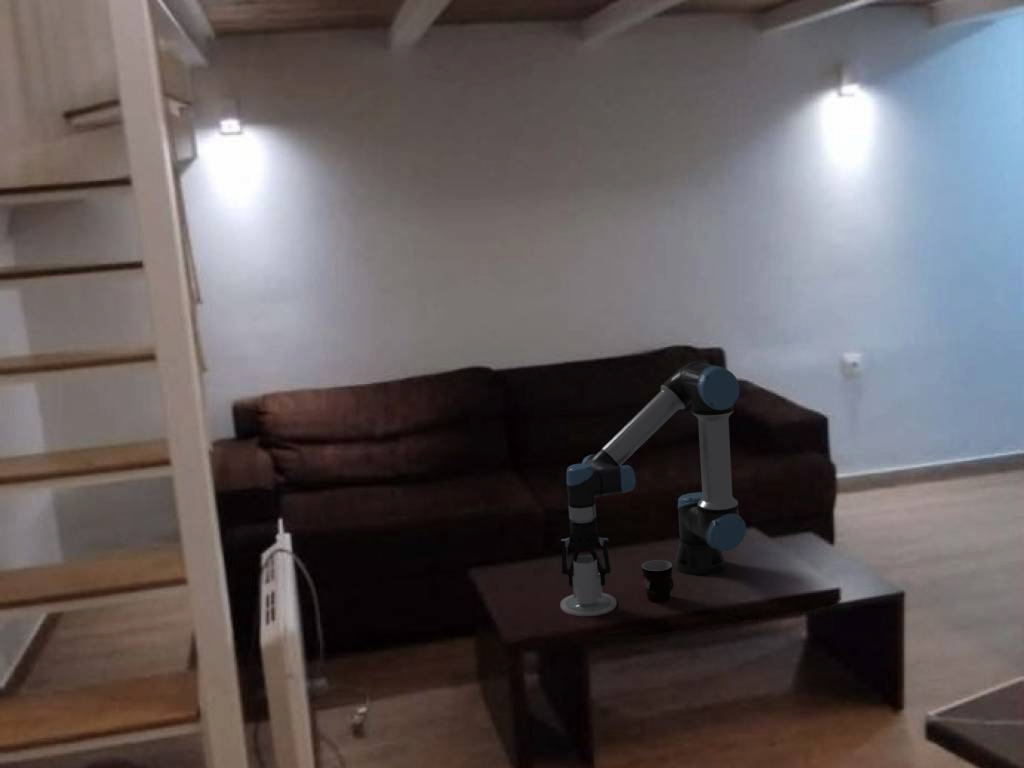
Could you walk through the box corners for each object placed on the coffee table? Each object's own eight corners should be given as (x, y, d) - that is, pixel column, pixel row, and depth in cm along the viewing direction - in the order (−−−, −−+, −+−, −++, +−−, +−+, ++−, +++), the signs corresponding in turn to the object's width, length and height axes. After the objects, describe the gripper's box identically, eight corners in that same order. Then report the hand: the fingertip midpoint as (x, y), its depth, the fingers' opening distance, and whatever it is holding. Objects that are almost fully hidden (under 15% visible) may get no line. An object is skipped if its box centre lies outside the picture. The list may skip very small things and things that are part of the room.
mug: (601, 603, 288) (598, 562, 286) (577, 605, 288) (574, 564, 286) (595, 590, 298) (593, 550, 296) (572, 592, 298) (570, 552, 296)
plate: (618, 594, 300) (618, 591, 300) (614, 616, 284) (614, 613, 284) (563, 594, 303) (563, 592, 302) (557, 616, 287) (557, 613, 287)
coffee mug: (642, 593, 299) (640, 561, 297) (671, 592, 299) (670, 559, 297) (646, 609, 287) (644, 575, 286) (677, 607, 287) (675, 573, 285)
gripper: (618, 513, 291) (622, 591, 295) (550, 515, 294) (556, 591, 298) (616, 522, 284) (621, 601, 288) (547, 524, 287) (552, 601, 291)
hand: (588, 596), depth 293 cm, fingers closed on mug, 6 cm apart
